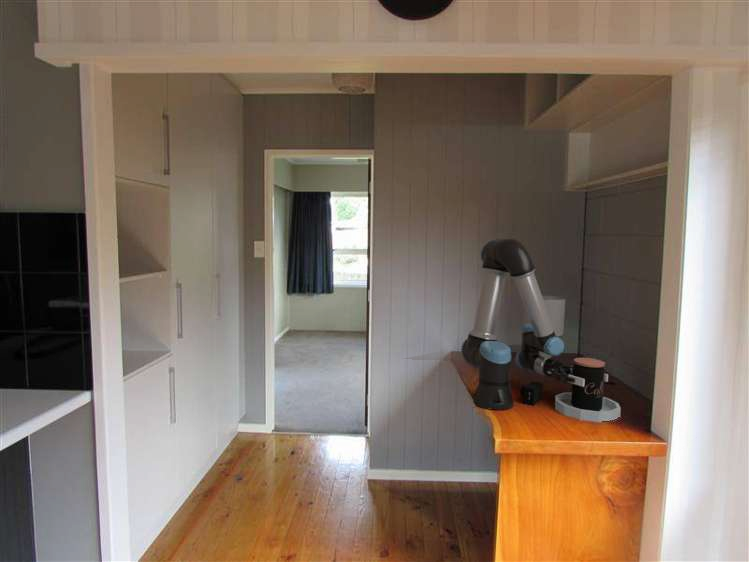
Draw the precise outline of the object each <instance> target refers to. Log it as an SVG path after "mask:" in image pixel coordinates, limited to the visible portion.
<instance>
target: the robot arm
mask: <svg viewBox="0 0 749 562" xmlns="http://www.w3.org/2000/svg"><path fill="white" fill-rule="evenodd" d="M479 255H480V260H481V261H482V266H481V269H482V271H483V273H484V275H483V279H482V284H481V291H480V296H479V299H478V305H477V310H476V315H475V318H474V324H473V329H472V330H471V331H469V332H468V336H467V337H466V339H465V340H464V341H463V342H462V344H461V348H460V354H461V357H462V359H463V361H465V362H466V363H467V364H468V365H469V366H470V367H473V368H475V369H477V370H478V384H477V386H476V389H475V391H474V394H473V399H472V403H473V404H474V405H475V406H477V407H479V408H483V409H485V408H491V409H498V410H497V411H503V410H502V409H507V410H510V409H509V408H511V409H512V408H514V401H515V400H514V398H513V393H512V389H511V387H510V386H511V385H510V383H511V382H510V381H511V365H512V364H511V363H512V362H511V361H512V350H511V348H510V346H509V345H507V344H506V343H503V342H500V341H497V340H498V339H497V336H496V335H495V333H496V332H495V330H496V326H497V322H498V321H497V320H498V316H499V312H500V306H501V303H502V298H503V291H504V287H505V283H506V278H507V277H508V276H509V275H510V278H512V279H514V280H515V284H516V288H517V290H518V293H519V295H520V299H521V301H522V303H523V306H525V309H526V312H527V315H528V317H529V320H530V323H531V324H525V325H524V326H523V325H522V329H521V330H522V331H521V349H520V350H518V351H517V352H516V355H515V357H514V362H515V365H516V366H517V367H519V368H521V369H523V370H525V371H529V372H533V373H537V374H540V375H541V376H546V377H549V378H553V379H554V380H556V381H558V382H559V383H562V382H563V384H567V383H570V384H572V383H573V384H576V385H579V386H582V387H584V384H585V379H583V378H579V377H576V376H573V366H574V364H573V365H571V364H568V365H566V364H562V362H561V361H560V360H559V359H556V358H553V357H557V356H560V355H562V353H563V351H564V348H565V344H564V341H563V340H562V339H561V338H560V337H559V336H556V334H555V332H554V329H553V326H552V323H551V320H550V318H549V315H548V312H547V309H546V306H545V303H544V300H543V298H542V296H543V295H542V292H541V290H540V287H539V284H538V281H537V278H536V275H535V270H536V266H535V264H534V261H533V259H532V257H531V255H530V252H529V251H528V249H527V247H526V245H525V244H523V242H521V241H520V240H518V239H516V238H502V237H500V238H493V239H490V240H487V242H485V243H484V244H483V246H481V249H480V254H479ZM540 351H541V352H543V353H545V354H547V355H551V356H552V357H551V358H550V357H546V356H542V355H540ZM604 382H605V383H607V382H609V374H608V373H604ZM491 409H490V410H491Z"/></svg>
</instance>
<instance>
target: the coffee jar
mask: <svg viewBox="0 0 749 562" xmlns="http://www.w3.org/2000/svg"><path fill="white" fill-rule="evenodd" d="M573 363H574V364H573V376H576V377H579V378H583V379H585V384H584V387H582V386H579V385H576V384H573V383H571V392H572V396H571V404H572V406H573V407H575V408H578V409H583V410H591V411H600V410H601V409H602V402H603V397H604V385H605V384H604V382H605V381H604V374H605V373H606V372H605V370H606V369H605V368H604V367H605V366H606V362H605V361H603V360H600V359H598V358H592V357H576V358H574V359H573Z"/></svg>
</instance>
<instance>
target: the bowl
mask: <svg viewBox="0 0 749 562" xmlns="http://www.w3.org/2000/svg"><path fill="white" fill-rule="evenodd" d="M571 396H572V391H571V392H562V393H558V394H556V395H555V396H554V410H555V411H557V412H559V413H560V414H562V415H563V416H566V417H568V418H572V419H577V420H579V421H587V422H591V423H592V422H593V423H603V422H602V421H610V420H611V421H612V420H615V419H617V418H618V417H620V418H621V410H622V408H621V406H620V404H619V403H618V402H617V401H615V400H613V399H610V398H608V397H605V396H603V402H602V409H601V410H600V411H591V410H583V409H578V408H575V407H573V406H572V404H571ZM617 420H618V419H617ZM615 421H616V420H615Z"/></svg>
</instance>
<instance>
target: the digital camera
mask: <svg viewBox="0 0 749 562" xmlns="http://www.w3.org/2000/svg"><path fill="white" fill-rule="evenodd" d="M519 396H520V397H522V401H521V402H522V403H523V405H525V404H527V405H526V406H529V405H531V407H534V406H535V404H536V403H537V402H538V403H540V402H541V401H542V400H543V382H538V381H535V380H534V381H533V380H532V381H530V382H528V383H527V384H526V385H525V384H522V385H521V387H520V389H519ZM541 399H542V400H541ZM540 400H541V401H540ZM538 403H537V404H538ZM537 404H536V405H537Z"/></svg>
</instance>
